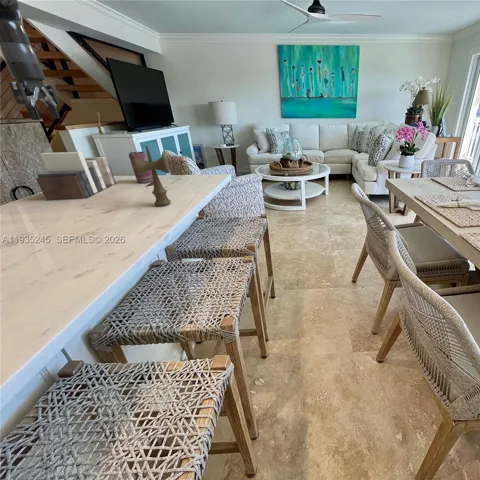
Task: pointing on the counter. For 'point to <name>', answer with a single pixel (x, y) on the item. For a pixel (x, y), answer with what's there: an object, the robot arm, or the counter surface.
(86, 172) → the cream book
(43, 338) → the counter surface
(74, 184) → the book rack
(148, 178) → the can
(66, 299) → the counter surface
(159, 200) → the kendama
